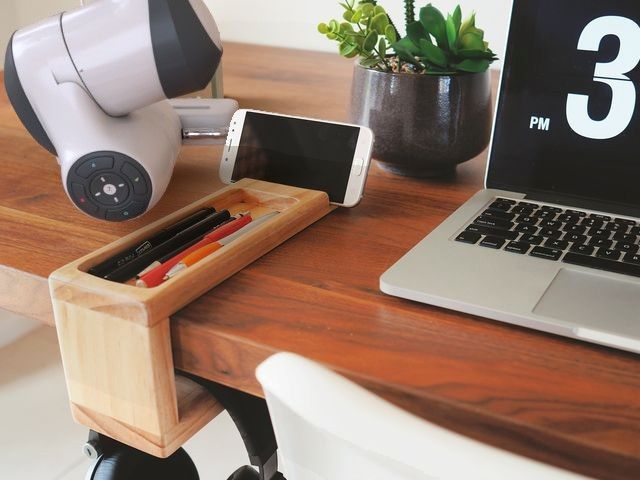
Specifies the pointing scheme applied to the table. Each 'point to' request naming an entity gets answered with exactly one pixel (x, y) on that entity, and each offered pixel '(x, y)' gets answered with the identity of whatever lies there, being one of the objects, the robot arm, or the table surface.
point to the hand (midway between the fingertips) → (156, 103)
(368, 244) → the table surface
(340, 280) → the table surface
